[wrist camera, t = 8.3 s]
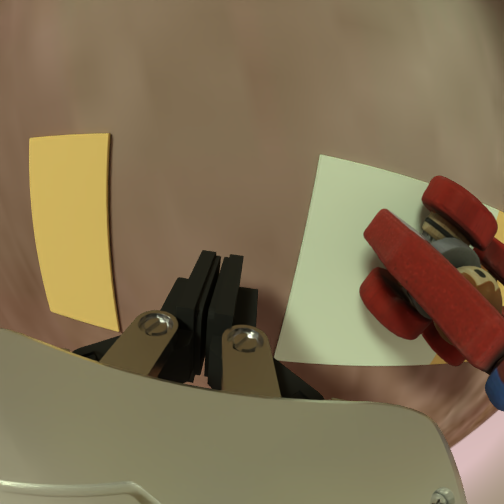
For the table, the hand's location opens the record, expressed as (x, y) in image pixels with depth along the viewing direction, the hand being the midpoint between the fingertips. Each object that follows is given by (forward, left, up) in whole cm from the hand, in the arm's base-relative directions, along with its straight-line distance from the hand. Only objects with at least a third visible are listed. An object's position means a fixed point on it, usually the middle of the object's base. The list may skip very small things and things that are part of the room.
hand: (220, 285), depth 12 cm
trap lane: (0, +5, -3) cm, 6 cm away
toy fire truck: (-2, +11, -3) cm, 12 cm away
